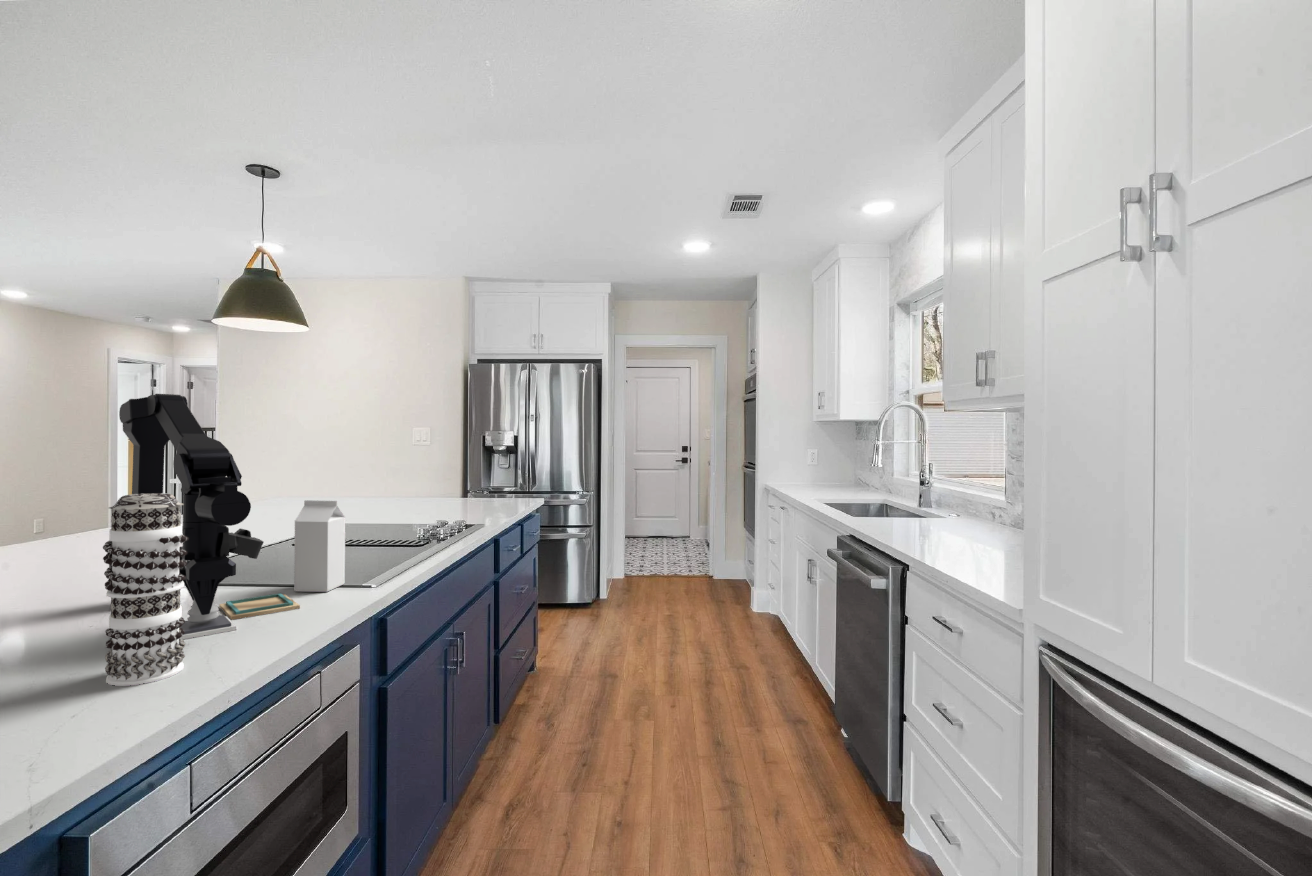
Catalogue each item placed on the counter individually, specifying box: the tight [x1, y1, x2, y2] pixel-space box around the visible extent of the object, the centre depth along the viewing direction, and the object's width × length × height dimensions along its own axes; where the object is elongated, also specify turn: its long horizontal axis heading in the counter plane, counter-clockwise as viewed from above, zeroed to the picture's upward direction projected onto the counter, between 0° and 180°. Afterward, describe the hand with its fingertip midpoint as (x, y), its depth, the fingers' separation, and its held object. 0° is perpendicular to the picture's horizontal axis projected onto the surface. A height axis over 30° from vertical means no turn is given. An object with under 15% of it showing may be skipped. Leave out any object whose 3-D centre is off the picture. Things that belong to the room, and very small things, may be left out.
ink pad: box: [180, 614, 237, 641], centre depth 105 cm, size 8×8×1 cm
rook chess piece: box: [186, 600, 220, 623], centre depth 105 cm, size 4×4×8 cm
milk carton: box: [293, 500, 346, 593], centre depth 133 cm, size 7×7×19 cm
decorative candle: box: [102, 492, 189, 687], centre depth 86 cm, size 9×9×25 cm
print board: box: [218, 592, 301, 621], centre depth 118 cm, size 11×11×1 cm
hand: (203, 611), depth 105 cm, fingers closed on rook chess piece, 4 cm apart
